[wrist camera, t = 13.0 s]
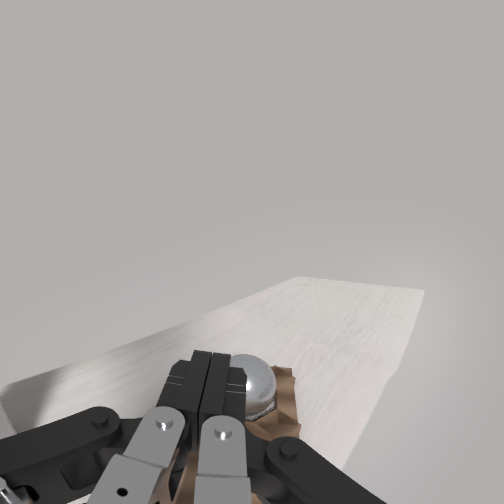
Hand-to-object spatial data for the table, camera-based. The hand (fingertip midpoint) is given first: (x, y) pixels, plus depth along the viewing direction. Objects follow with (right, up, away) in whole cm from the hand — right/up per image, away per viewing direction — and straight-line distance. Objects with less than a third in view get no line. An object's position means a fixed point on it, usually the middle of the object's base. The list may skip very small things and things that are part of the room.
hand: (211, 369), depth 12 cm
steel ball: (0, -16, +33) cm, 36 cm away
